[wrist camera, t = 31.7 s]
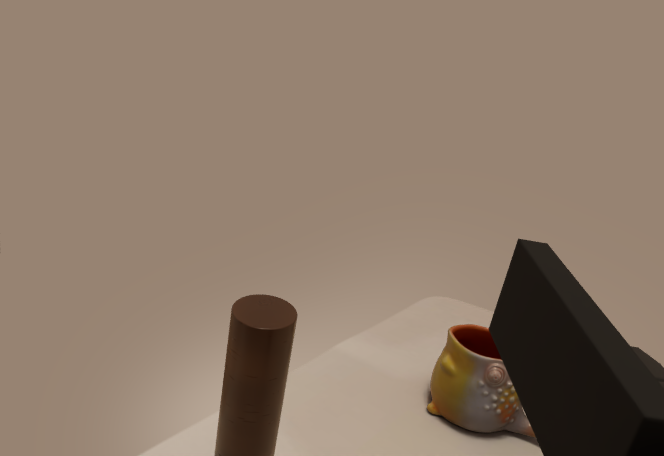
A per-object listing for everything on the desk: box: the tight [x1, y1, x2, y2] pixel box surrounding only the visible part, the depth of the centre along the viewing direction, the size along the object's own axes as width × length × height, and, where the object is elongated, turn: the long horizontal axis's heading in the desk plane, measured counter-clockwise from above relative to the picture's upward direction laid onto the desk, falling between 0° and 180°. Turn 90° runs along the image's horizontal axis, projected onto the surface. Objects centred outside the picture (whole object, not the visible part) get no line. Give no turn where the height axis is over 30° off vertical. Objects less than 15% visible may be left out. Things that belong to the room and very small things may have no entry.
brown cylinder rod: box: [215, 295, 297, 456], centre depth 30 cm, size 4×4×16 cm
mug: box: [427, 324, 536, 438], centre depth 46 cm, size 12×7×7 cm, turn 56°
